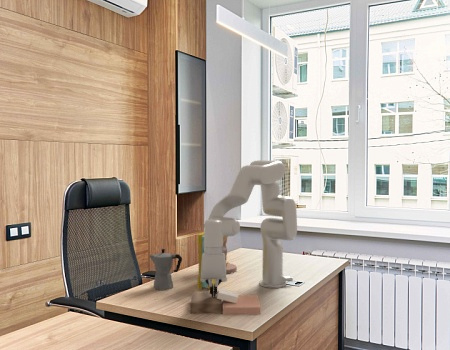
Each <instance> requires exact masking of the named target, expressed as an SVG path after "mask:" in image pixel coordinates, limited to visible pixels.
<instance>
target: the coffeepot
mask: <svg viewBox="0 0 450 350" xmlns="http://www.w3.org/2000/svg"><path fill="white" fill-rule="evenodd" d="M165 251H166V249H165V248H162V249H161V252H160V253H155V254H150V255H148V258H150V259H151V261H152V262H153V264H154V270H155V276H154V281H153V289H154V290H158V291H168V290H172V289H173V288H174V284H173V277H172V273H171V270H172V267H173V262H174V261H173V260H174V259H178V260H177V264H176V269H173V272H174V273H178V272H179V269H180V266H181V264H182V261H183V257H182V256H181V255H180V254H178V253H177V254H176V253H175V254H172V253H167V252H165Z"/></svg>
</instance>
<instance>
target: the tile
mask: <svg viewBox="0 0 450 350" xmlns="http://www.w3.org/2000/svg"><path fill="white" fill-rule="evenodd" d="M217 291H218V293H217V299H221V300H222V301H223V300H224V301H228V302H232V303H236V304H237V300H238V295H239V294H238V292H234V291H233V290H232V291H231V290H227V289H223V288H221V287H220V288H217Z"/></svg>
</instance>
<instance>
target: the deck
mask: <svg viewBox="0 0 450 350" xmlns="http://www.w3.org/2000/svg"><path fill="white" fill-rule="evenodd" d="M217 293H218V290H217ZM189 307H190V310H189V312H190V315H192V314H193V315H195V314H196V315H197V314H198V315H200V314H201V315H203V314H204V315H205V314H206V315H211V314H213V315H216V314H217V315H221V314H223V300H221V299H217V294H216V296H215V297H214V294H213V297H212V294H210V290H207V291H205V290H204V291H199V290H197V291H192V294H191V300H190V305H189Z"/></svg>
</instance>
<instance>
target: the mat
mask: <svg viewBox="0 0 450 350" xmlns="http://www.w3.org/2000/svg"><path fill="white" fill-rule="evenodd" d="M222 314H224V315H226V314H227V315H229V314H230V315H233V314H235V315H236V314H237V315H242V314H243V315H246V314H247V315H248V314H249V315H251V314H252V315H253V314H255V315H256V314H257V315H261V305H260V301H259V296H258V294H238V300H237V304H236V303H232V302H228V301H224V300H222Z"/></svg>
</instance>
